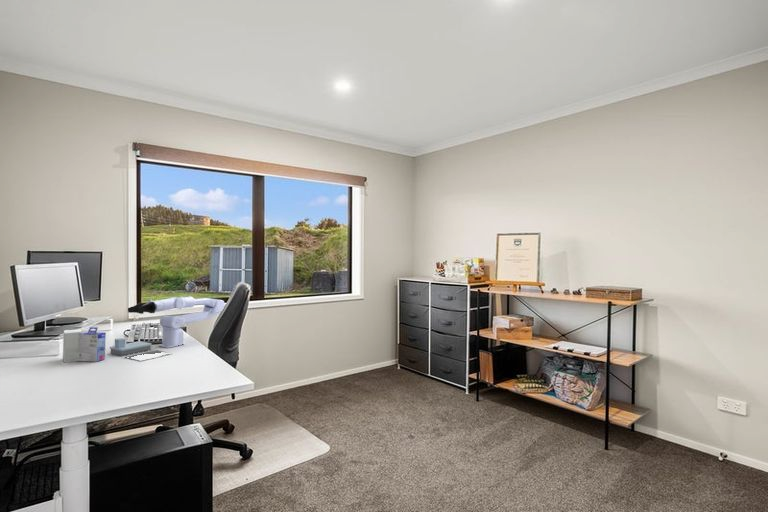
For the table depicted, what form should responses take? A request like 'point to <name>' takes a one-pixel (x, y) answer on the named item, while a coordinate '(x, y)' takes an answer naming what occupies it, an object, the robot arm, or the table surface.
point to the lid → (128, 345)
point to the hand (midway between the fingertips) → (133, 310)
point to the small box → (70, 345)
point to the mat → (146, 353)
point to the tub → (130, 351)
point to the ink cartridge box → (91, 345)
